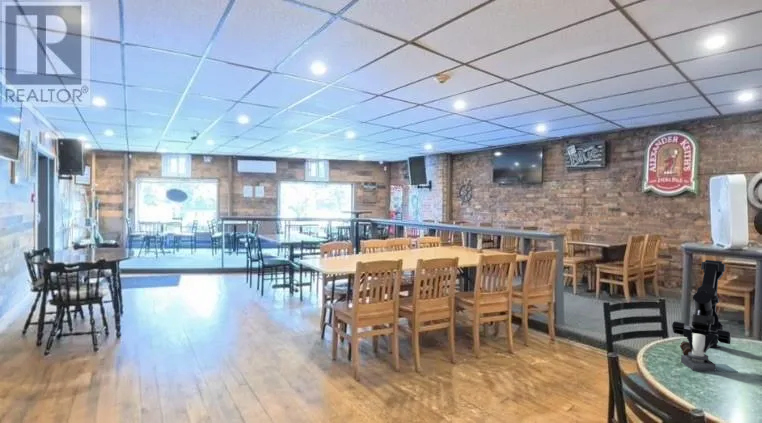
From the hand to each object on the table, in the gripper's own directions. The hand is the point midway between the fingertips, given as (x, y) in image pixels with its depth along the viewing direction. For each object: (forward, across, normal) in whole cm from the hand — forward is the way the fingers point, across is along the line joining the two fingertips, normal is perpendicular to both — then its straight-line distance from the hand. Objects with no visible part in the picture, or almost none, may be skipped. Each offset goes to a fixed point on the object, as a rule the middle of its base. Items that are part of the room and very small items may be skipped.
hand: (697, 350), depth 166 cm
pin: (+4, 0, +6) cm, 7 cm away
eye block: (+4, 0, +6) cm, 7 cm away
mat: (0, +7, +10) cm, 12 cm away
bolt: (-5, -5, +16) cm, 17 cm away
